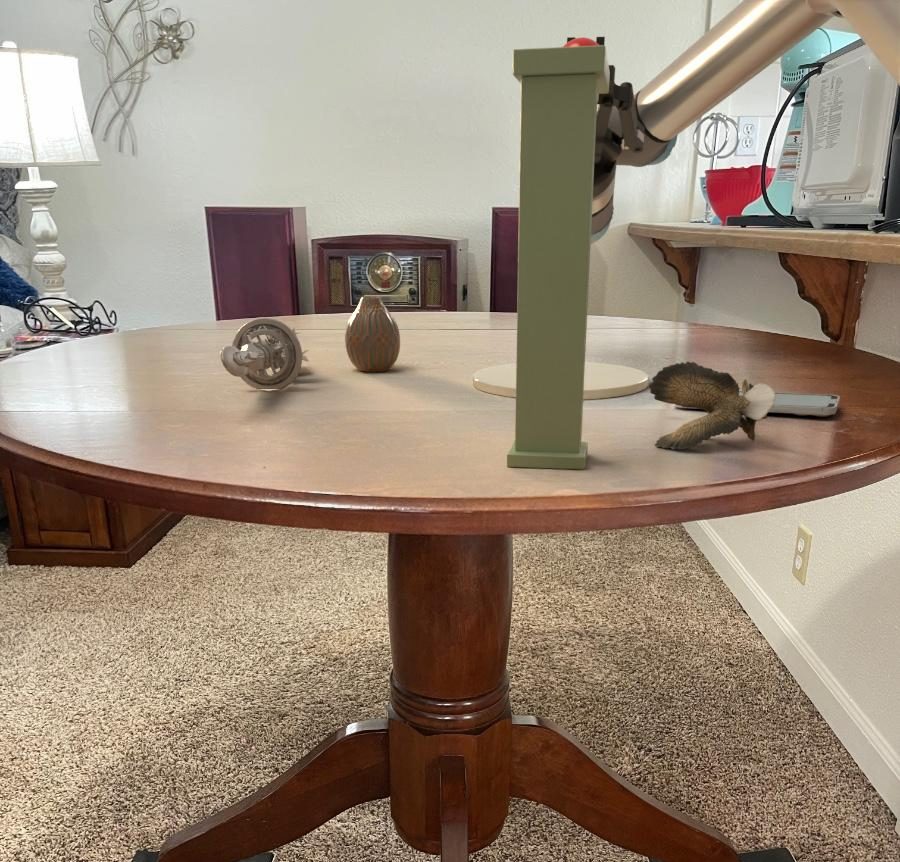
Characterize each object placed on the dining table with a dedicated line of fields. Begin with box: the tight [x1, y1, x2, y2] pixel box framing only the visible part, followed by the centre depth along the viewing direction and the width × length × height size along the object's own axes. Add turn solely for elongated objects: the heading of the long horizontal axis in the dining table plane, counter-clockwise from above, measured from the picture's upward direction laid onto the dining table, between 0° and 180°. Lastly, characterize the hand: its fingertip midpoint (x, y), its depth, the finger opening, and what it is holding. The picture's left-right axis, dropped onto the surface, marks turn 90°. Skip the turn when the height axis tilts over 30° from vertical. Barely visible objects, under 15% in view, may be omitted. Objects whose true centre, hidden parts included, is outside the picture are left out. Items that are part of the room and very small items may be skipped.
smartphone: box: [673, 390, 841, 418], centre depth 88 cm, size 7×1×15 cm
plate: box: [472, 361, 650, 401], centre depth 102 cm, size 20×20×1 cm
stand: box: [506, 44, 610, 470], centre depth 69 cm, size 12×6×28 cm, turn 169°
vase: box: [344, 295, 401, 373], centre depth 111 cm, size 7×7×9 cm
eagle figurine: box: [647, 361, 776, 450], centre depth 74 cm, size 8×7×9 cm
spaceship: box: [219, 317, 310, 390], centre depth 99 cm, size 8×35×8 cm
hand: (584, 52), depth 82 cm, fingers closed on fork, 2 cm apart
